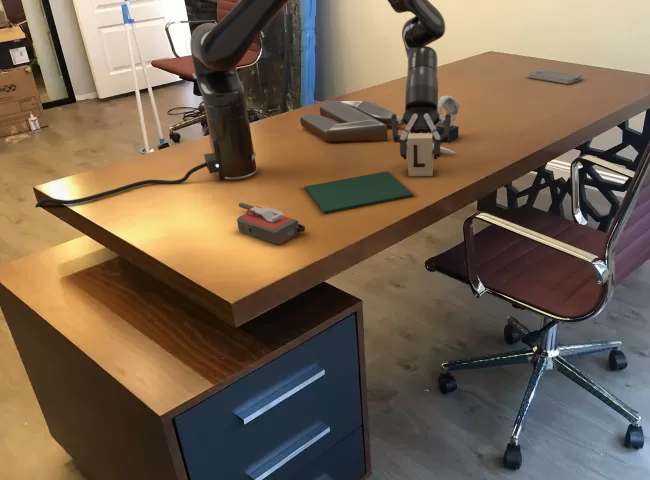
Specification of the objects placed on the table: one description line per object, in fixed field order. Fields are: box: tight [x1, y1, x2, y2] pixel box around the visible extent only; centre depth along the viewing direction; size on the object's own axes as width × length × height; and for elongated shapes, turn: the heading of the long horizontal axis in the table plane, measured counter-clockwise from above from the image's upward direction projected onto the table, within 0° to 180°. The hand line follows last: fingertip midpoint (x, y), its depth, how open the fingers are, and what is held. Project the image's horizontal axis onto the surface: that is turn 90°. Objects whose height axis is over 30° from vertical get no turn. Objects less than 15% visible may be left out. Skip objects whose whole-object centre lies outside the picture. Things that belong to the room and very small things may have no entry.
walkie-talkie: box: [236, 202, 306, 245], centre depth 129 cm, size 9×4×20 cm
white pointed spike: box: [433, 143, 456, 155], centre depth 164 cm, size 15×3×2 cm, turn 47°
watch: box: [435, 95, 461, 143], centre depth 170 cm, size 6×8×11 cm
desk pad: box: [304, 171, 414, 215], centre depth 144 cm, size 20×15×1 cm
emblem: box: [299, 100, 406, 142], centre depth 181 cm, size 28×5×28 cm
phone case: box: [528, 69, 582, 85], centre depth 221 cm, size 8×16×1 cm, turn 47°
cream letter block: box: [407, 132, 434, 177], centre depth 150 cm, size 6×4×9 cm
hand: (420, 157), depth 148 cm, fingers open, 6 cm apart
